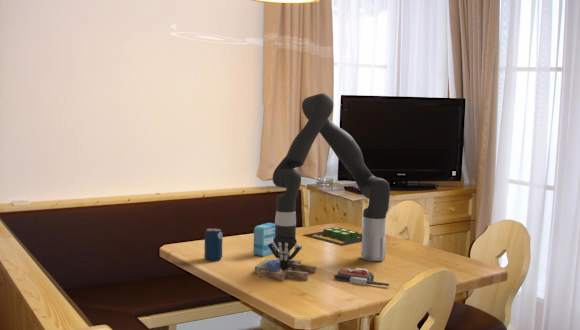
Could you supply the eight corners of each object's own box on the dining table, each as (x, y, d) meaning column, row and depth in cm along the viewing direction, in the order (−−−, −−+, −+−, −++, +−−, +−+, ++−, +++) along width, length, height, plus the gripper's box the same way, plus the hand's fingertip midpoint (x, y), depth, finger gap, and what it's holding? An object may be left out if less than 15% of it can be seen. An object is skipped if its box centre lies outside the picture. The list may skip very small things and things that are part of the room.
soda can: (225, 259, 233) (226, 229, 232) (212, 262, 228) (212, 232, 227) (214, 256, 238) (214, 226, 237) (200, 259, 233) (201, 229, 232)
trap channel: (319, 269, 224) (319, 262, 224) (302, 284, 205) (303, 276, 205) (270, 263, 231) (270, 256, 230) (249, 276, 212) (249, 269, 212)
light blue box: (262, 257, 239) (263, 228, 238) (253, 255, 241) (253, 226, 240) (278, 251, 249) (279, 223, 248) (269, 250, 251) (270, 222, 250)
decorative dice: (265, 271, 219) (265, 260, 219) (272, 269, 222) (273, 258, 222) (273, 273, 216) (273, 263, 216) (280, 271, 219) (281, 261, 219)
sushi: (302, 236, 281) (303, 229, 281) (338, 230, 298) (338, 223, 298) (342, 247, 263) (342, 239, 263) (377, 239, 280) (378, 232, 280)
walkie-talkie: (332, 281, 210) (388, 289, 203) (332, 269, 210) (389, 277, 203) (339, 275, 218) (393, 283, 211) (339, 263, 218) (393, 270, 211)
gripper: (306, 223, 217) (304, 269, 219) (272, 219, 221) (271, 265, 223) (299, 226, 210) (298, 274, 212) (264, 223, 214) (263, 270, 216)
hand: (284, 269), depth 218 cm, fingers closed
